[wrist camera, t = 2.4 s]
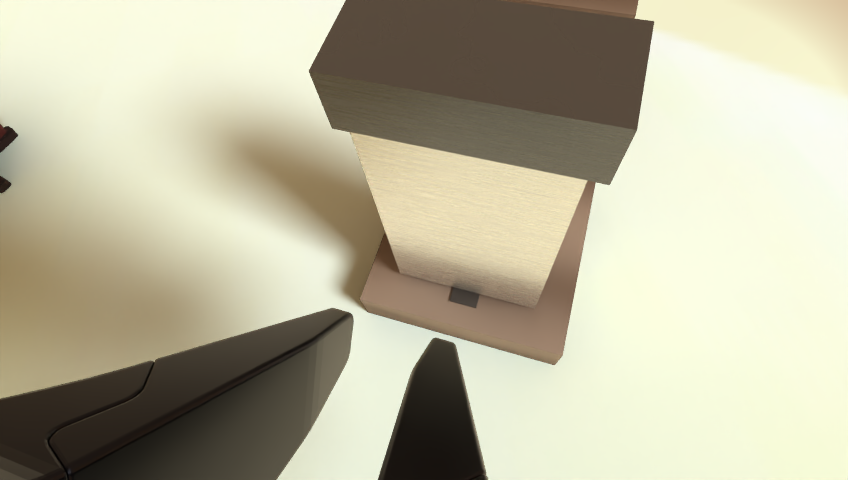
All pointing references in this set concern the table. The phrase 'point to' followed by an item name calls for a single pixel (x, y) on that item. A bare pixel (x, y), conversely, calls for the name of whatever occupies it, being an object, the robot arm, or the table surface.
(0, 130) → the mate gourd
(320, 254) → the table surface
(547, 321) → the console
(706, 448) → the table surface
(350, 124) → the fader tab
